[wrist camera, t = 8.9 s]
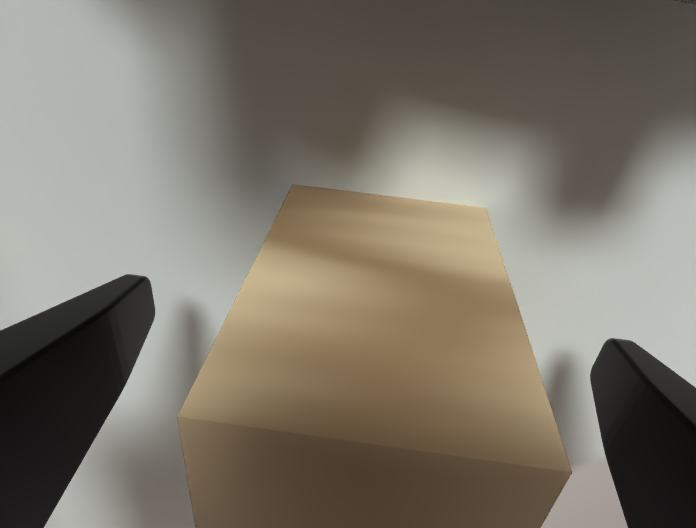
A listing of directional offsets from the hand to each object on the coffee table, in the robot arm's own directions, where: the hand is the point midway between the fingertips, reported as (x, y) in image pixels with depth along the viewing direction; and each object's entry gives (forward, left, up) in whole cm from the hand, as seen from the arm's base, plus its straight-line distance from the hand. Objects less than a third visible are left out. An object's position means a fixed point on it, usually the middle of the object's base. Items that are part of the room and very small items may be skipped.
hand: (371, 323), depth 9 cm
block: (0, 0, -2) cm, 2 cm away
